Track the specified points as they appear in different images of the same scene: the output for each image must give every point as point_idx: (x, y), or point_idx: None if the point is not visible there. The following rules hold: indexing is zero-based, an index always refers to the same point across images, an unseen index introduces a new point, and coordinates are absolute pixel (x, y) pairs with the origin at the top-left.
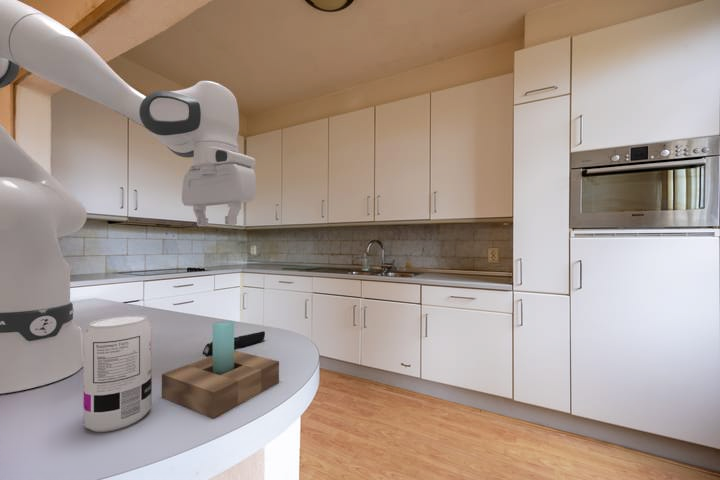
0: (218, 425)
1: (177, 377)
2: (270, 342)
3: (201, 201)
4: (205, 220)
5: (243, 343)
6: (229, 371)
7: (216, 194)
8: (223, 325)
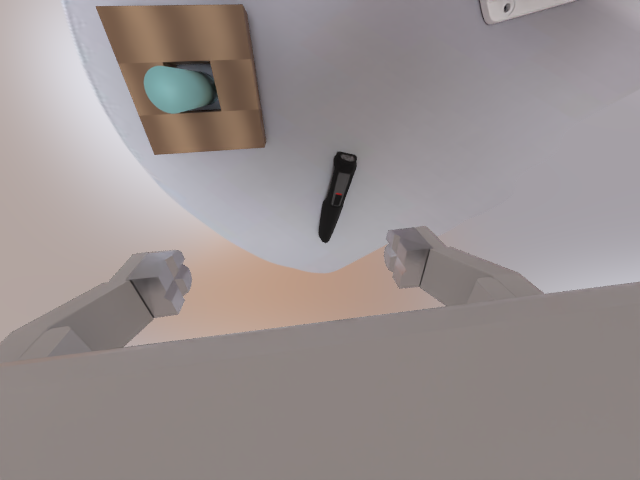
0: (94, 7)
1: (204, 11)
2: (308, 234)
3: (415, 320)
4: (396, 265)
5: (324, 204)
6: None
7: (109, 429)
8: (148, 78)
